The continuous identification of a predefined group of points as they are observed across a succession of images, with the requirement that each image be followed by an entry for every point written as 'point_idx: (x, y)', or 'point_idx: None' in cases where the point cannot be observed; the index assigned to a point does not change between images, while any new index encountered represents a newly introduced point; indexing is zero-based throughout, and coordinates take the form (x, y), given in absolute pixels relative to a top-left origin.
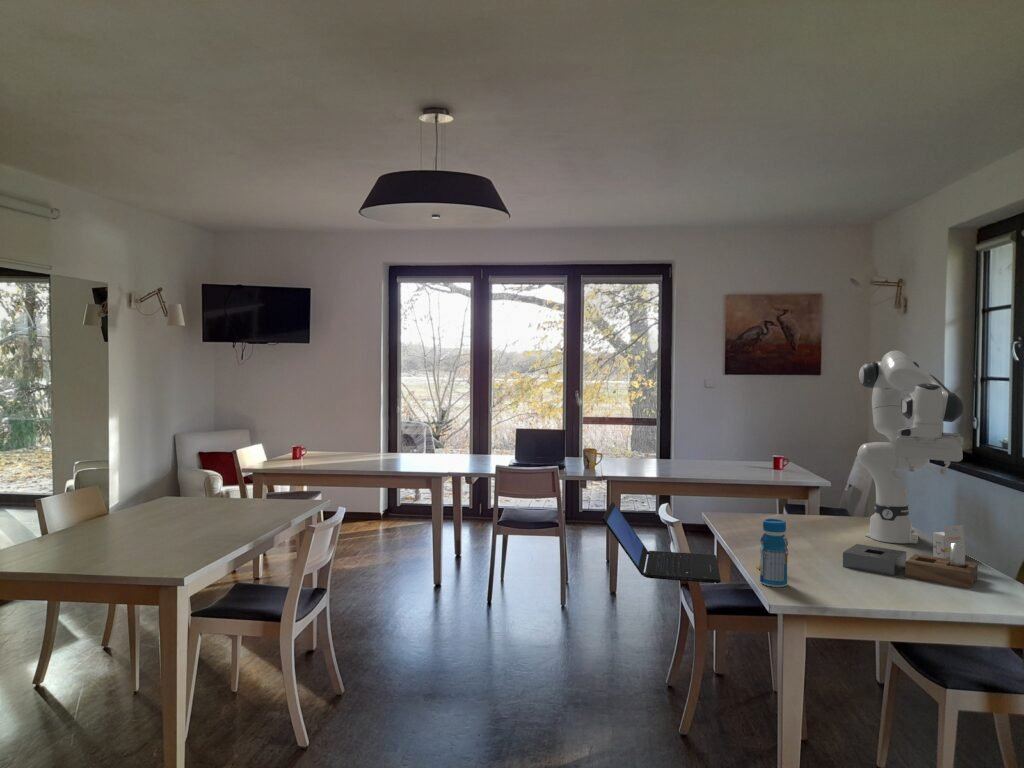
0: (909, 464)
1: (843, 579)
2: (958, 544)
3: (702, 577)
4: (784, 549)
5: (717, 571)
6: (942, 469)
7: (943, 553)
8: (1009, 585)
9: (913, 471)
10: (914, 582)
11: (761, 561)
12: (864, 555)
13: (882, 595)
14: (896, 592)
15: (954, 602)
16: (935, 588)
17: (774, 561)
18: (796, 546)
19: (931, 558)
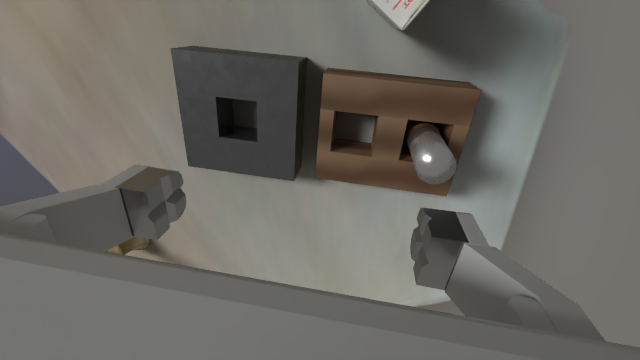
0: (110, 248)
1: (238, 233)
2: (436, 177)
3: None
4: None
5: None
6: (439, 286)
7: (395, 27)
8: (536, 102)
9: (185, 198)
10: (340, 191)
11: None
12: (231, 170)
13: (308, 281)
14: (322, 260)
15: (405, 269)
16: (377, 210)
17: None
18: (43, 16)
19: (365, 106)
